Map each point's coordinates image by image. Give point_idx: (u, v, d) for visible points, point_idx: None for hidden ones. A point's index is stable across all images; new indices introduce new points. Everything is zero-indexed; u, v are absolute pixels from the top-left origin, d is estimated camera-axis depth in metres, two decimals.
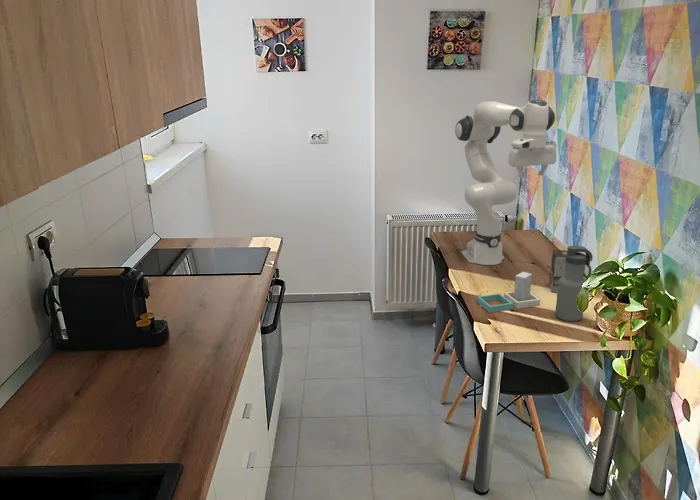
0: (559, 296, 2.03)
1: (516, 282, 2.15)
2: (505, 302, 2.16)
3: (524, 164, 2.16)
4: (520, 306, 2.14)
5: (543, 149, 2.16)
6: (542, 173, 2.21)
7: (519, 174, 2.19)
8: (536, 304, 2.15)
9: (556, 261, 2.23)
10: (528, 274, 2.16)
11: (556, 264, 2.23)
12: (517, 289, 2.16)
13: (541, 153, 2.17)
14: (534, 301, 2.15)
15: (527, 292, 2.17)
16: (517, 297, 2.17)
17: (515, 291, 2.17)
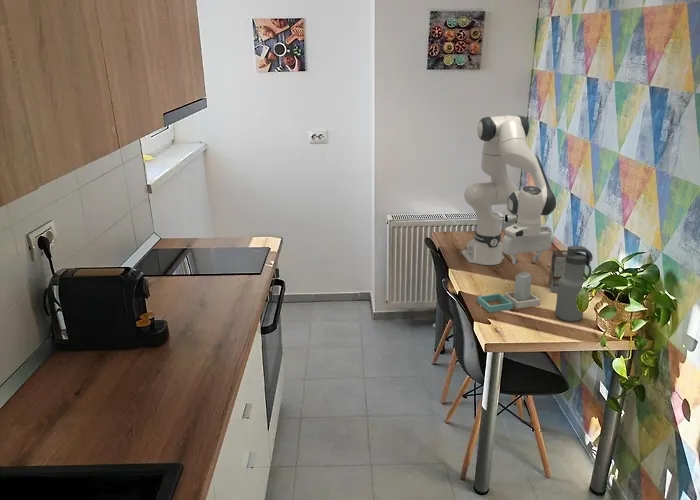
0: (559, 296, 2.03)
1: (516, 282, 2.15)
2: (505, 302, 2.16)
3: (518, 252, 2.09)
4: (520, 306, 2.14)
5: (537, 236, 2.09)
6: (537, 259, 2.13)
7: (513, 261, 2.12)
8: (536, 304, 2.15)
9: (556, 261, 2.23)
10: (528, 274, 2.16)
11: (556, 264, 2.23)
12: (517, 289, 2.16)
13: (535, 240, 2.10)
14: (534, 301, 2.15)
15: (527, 292, 2.17)
16: (517, 297, 2.17)
17: (515, 291, 2.17)
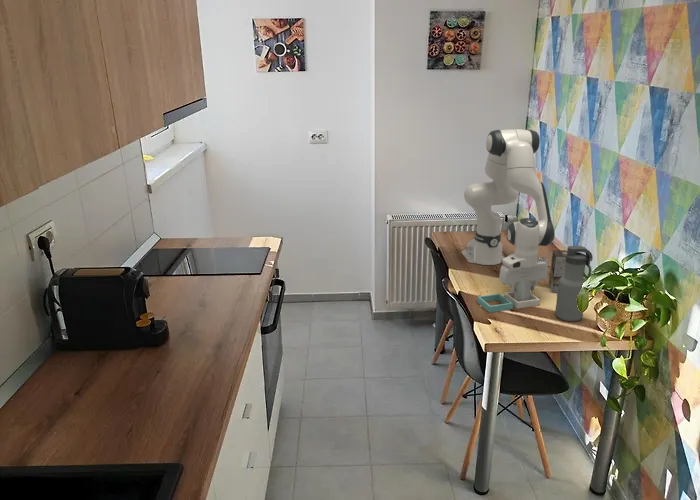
0: (559, 296, 2.03)
1: None
2: (505, 302, 2.16)
3: (515, 282, 2.13)
4: (520, 306, 2.14)
5: (534, 266, 2.13)
6: (532, 288, 2.18)
7: (511, 290, 2.16)
8: (536, 304, 2.15)
9: (556, 261, 2.23)
10: None
11: (556, 264, 2.23)
12: (517, 289, 2.16)
13: (532, 270, 2.14)
14: (534, 301, 2.15)
15: (527, 292, 2.17)
16: (517, 297, 2.17)
17: None
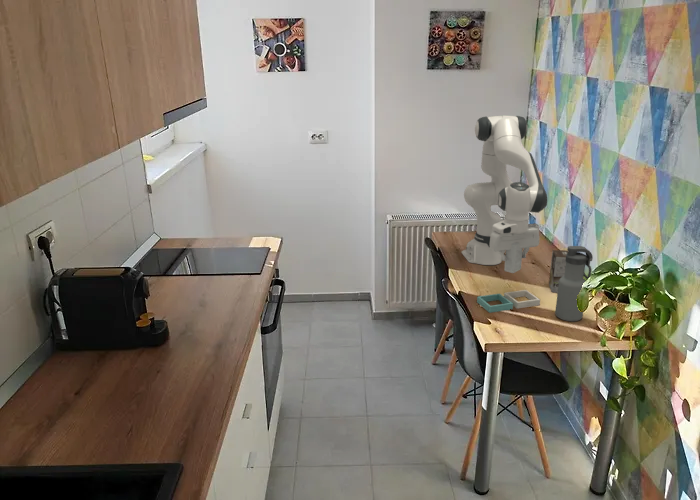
0: (559, 296, 2.03)
1: None
2: (505, 302, 2.16)
3: (506, 248, 2.07)
4: (520, 306, 2.14)
5: (525, 232, 2.07)
6: (524, 256, 2.11)
7: (502, 257, 2.10)
8: (536, 304, 2.15)
9: (556, 261, 2.23)
10: None
11: (556, 264, 2.23)
12: (508, 257, 2.09)
13: (523, 236, 2.08)
14: (534, 301, 2.15)
15: (518, 260, 2.10)
16: (508, 265, 2.10)
17: None
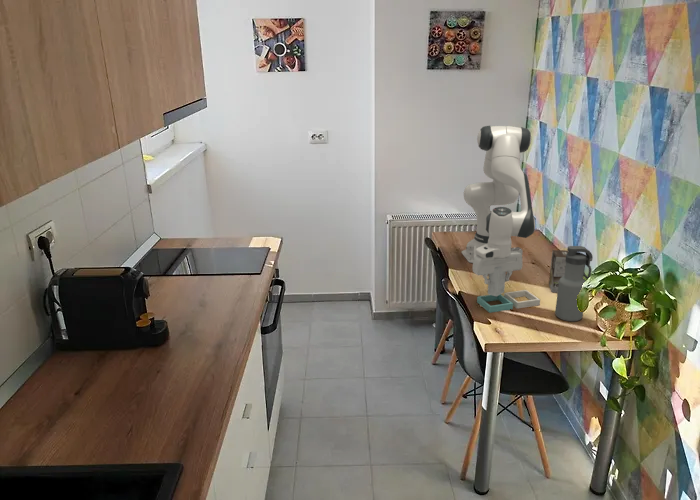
0: (559, 296, 2.03)
1: None
2: (505, 302, 2.16)
3: (488, 272, 2.08)
4: (520, 306, 2.14)
5: (508, 257, 2.09)
6: (507, 279, 2.13)
7: (485, 281, 2.11)
8: (536, 304, 2.15)
9: (556, 261, 2.23)
10: None
11: (556, 264, 2.23)
12: (491, 280, 2.11)
13: (506, 260, 2.09)
14: (534, 301, 2.15)
15: (501, 283, 2.12)
16: (491, 289, 2.12)
17: None
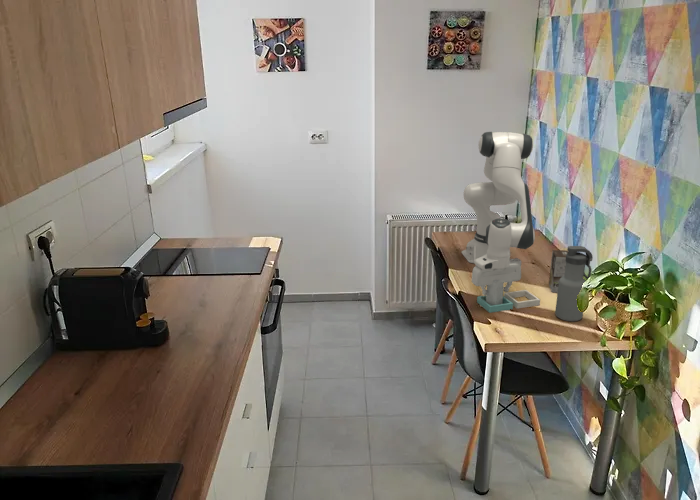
0: (559, 296, 2.03)
1: (488, 286, 2.12)
2: (505, 302, 2.16)
3: (487, 283, 2.10)
4: (520, 306, 2.14)
5: (507, 268, 2.10)
6: (507, 290, 2.15)
7: (483, 292, 2.13)
8: (536, 304, 2.15)
9: (556, 261, 2.23)
10: None
11: (556, 264, 2.23)
12: (489, 293, 2.13)
13: (505, 271, 2.11)
14: (534, 301, 2.15)
15: (499, 296, 2.14)
16: (489, 301, 2.14)
17: (487, 295, 2.14)
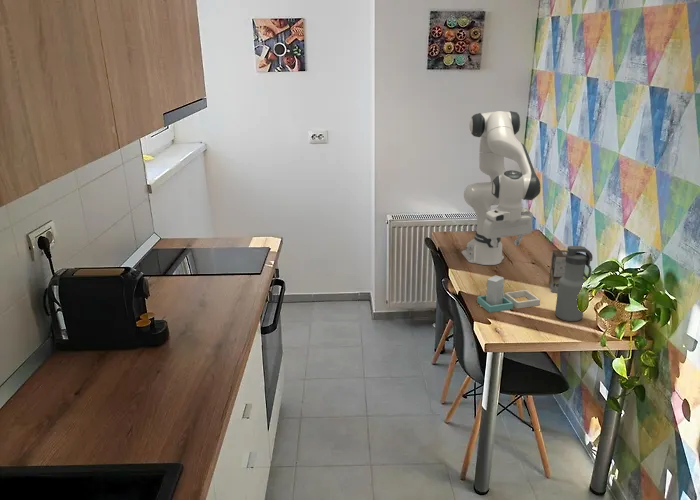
0: (559, 296, 2.03)
1: (488, 286, 2.12)
2: (505, 302, 2.16)
3: (498, 236, 2.10)
4: (520, 306, 2.14)
5: (518, 220, 2.10)
6: (517, 243, 2.15)
7: (494, 245, 2.13)
8: (536, 304, 2.15)
9: (556, 261, 2.23)
10: (500, 278, 2.13)
11: (556, 264, 2.23)
12: (489, 293, 2.13)
13: (516, 224, 2.11)
14: (534, 301, 2.15)
15: (499, 296, 2.14)
16: (489, 301, 2.14)
17: (487, 295, 2.14)
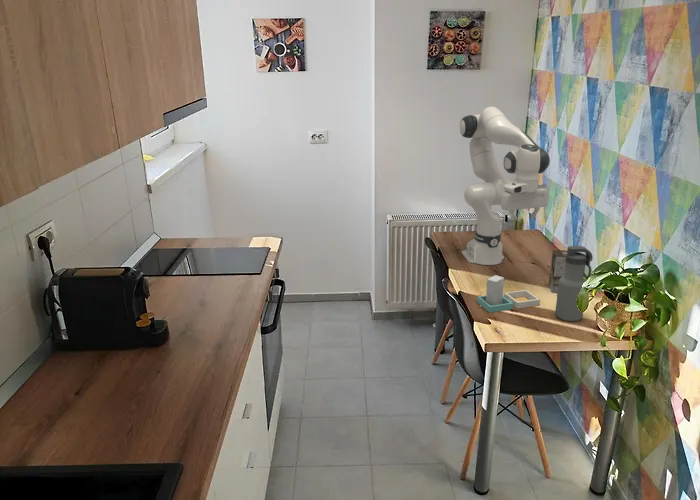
0: (559, 296, 2.03)
1: (488, 286, 2.12)
2: (505, 302, 2.16)
3: (516, 208, 2.18)
4: (520, 306, 2.14)
5: (535, 193, 2.18)
6: (534, 216, 2.22)
7: (511, 217, 2.21)
8: (536, 304, 2.15)
9: (556, 261, 2.23)
10: (500, 278, 2.13)
11: (556, 264, 2.23)
12: (489, 293, 2.13)
13: (533, 196, 2.18)
14: (534, 301, 2.15)
15: (499, 296, 2.14)
16: (489, 301, 2.14)
17: (487, 295, 2.14)
